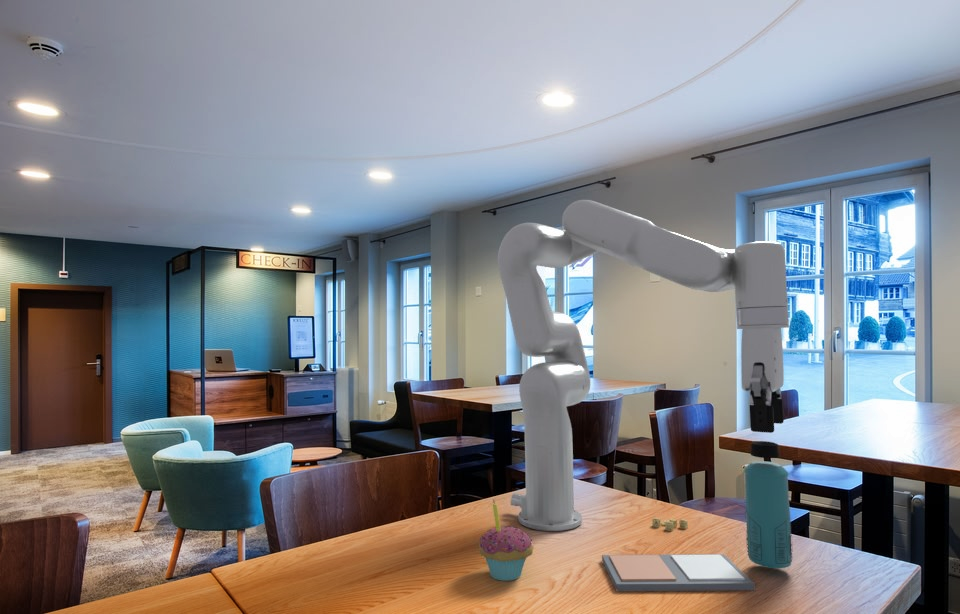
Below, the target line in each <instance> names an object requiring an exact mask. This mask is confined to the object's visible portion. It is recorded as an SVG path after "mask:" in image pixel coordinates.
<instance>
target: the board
mask: <svg viewBox="0 0 960 614" xmlns="http://www.w3.org/2000/svg"><path fill="white" fill-rule="evenodd" d="M601 560H602V561H601V562H602V564H603V565H604V568H605V570H606V572H607V574H608V577H609V578H610V580H611V582H612V583H613V586H614V588H615V590H616V592H681V591H682V592H687V591H688V592H689V591H690V592H693V591H698V592H702V591H704V592H705V591H706V592H707V591H709V592H710V591H715V592H717V591H718V592H719V591H755V589H756V587H755V582H754V581H753V580H751V578H750V577H748V576H747V575H746V574H745V573H744V572H743V571H742V570H741V569H740V568H739V567H738V566H737V565H736V564H735V563H734V562H733V561H732V560H731V559H730V558H729V557H728V556H726V555H725V553H707V554H706V553H697V554H696V553H695V554H693V553H692V554H690V553H688V554H687V553H684V554H683V553H682V554H681V553H680V554H675V553H674V554H669V553H668V554H602V555H601Z"/></svg>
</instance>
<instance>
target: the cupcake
mask: <svg viewBox="0 0 960 614" xmlns="http://www.w3.org/2000/svg"><path fill="white" fill-rule="evenodd" d="M492 502H493V503H492V508H493V509H492V511H493V516H494V524H495V528H492V529H488V530H486V532H484V534H482V536H481V537H480V538H479V541H478V552H479V555H480V556H481V557H484V559H485V562H486V563H487V567H488V569H489V573H490V576H491V578H493V579H494V580H497V581H502V582H505V581H506V582H508V581H509V582H510V581H515V580H517V579H519V578H520V577H521V576H522V572H523V568H524V565H525V563H526V559H527V558H528V557H530V556H532V555H533V552H534V551H533V550H534V546H533V540H532V539H531V537H530V536H529V535H528V534H527V533H526V532H525V531H523V530H522V529H520V528H518V527H516V526H514V527H513V526H509V525H508V526H501V524H500V516H499V510H498V505H497V503H496V502H495V499H494V498H492Z"/></svg>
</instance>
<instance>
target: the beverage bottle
mask: <svg viewBox="0 0 960 614" xmlns="http://www.w3.org/2000/svg"><path fill="white" fill-rule="evenodd" d="M750 456H752V457H755V458H762V459H778V458H780V451H779V444H778V443H776V442H772V441H764V440H759V441H758V440H755V441H752V442H751V444H750ZM743 472H744V484H745V486H744V487H745V523H746V524H745V525H746V530H745V532H746V536H745V541H746V542H745V543H746V551H747V552H746V553H747V556H748V559H749V560H750V562H752V563H754V564H756V565H758V566H762V567H765V568H771V569H785V568H789V567H791V565H792V562H793V559H794V557H793V551H794V550H793V549H792V537H793V534H792V523H791V522H792V515H791V510H790V509H791V507H790V499H789V497H790V495H789V494H790V493H789V480H788V479H789V473H788V471H787V470H786V469H785V468H784V467H783V466H782V465H781V464H779V463H776V462H772V461H760V460H758V461H757V460H756V461H751V463H749V464H748V465H746V467H745V468H744V471H743Z"/></svg>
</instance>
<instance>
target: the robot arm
mask: <svg viewBox="0 0 960 614" xmlns="http://www.w3.org/2000/svg"><path fill="white" fill-rule="evenodd" d="M561 224H562V225H561V226H562V227H559V228H557V227H553V226H549V225H546V224H542V223H536V222H524V223H520V224H517V225H515V226H513V227H512V228H511V229H509V231H508V232H506V234H505V235H504V237H503V239H502V241H501V243H500V245H499V249H498V253H497V267H498V272H499V276H500V277H499V278H500V280H501V284H502V286H503V290H504V294H505V298H506V302H507V303H506V304H507V308H508V313H509V316H510V322H511V327H512V331H513V336H514V340H515V343H516V345H517V348H518V350H519V351H520V352H521V353H522V354H523V355H524V356H526V357H534V358H537V357H538V358H541V357H544V361H545V362H538V363H536V364H533V365H532V366H530V367H528V368H527V369H526V370H525V371H524V373H523V374H522V376H521V378H520V380H519V385H518V386H519V387H518V389H519V399H520V404H521V408H522V415H523V425H524V453H525V455H524V459H525V460H524V462H525V463H524V465H525V467H524V468H525V469H524V470H525V495H523V494H521V493H517V492H516V493H515V492H514V493H512V495H511V499H510V505H511V506H514V507H520V509H521V511H520V512H518V522H519V523H520V524H521V525H522V526H524V527H526V528H528V529H532V530H537V531H544V532H545V531H546V532H561V531H567V530H572V529H575V528H578V527H579V526H580V525H581V524H582V522H583V516H582V514H581V513H580V512H579V511H577V510H576V509H575V506H574V505H575V504H574V502H575V501H574V500H575V498H574V497H575V496H574V495H575V494H574V454H573V453H574V452H573V450H574V449H573V446H574V445H573V428H572V423H571V419H570V416H569V411H568V408H567V407H571V406H575V405H577V404H580V403H581V402H582V401H583V402H584V400H585V399H586V398H587V396H588V394H589V392H590V390H591V375H590V369H589V366H588V362H587V358H586V354H585V349H584V346H583V342H582V338H581V334H580V330H579V328H578V326H577V324H576V322H575V321H574V319H573V318H571V317H570V316H569V315H567V314H565V313H564V312H561V311H560V312H559V311H553V310H552V307H551V304H550V301H549V298H548V291H547V288H546V285H545V282H544V280H543V279H542V277H541V275H540V274H539V272H538V269H537V268H538V267H545V268H552V269H558V268H559V269H560V268H564V267H567V266H570V265H572V264H574V263H577V262H579V261H581V260H584V259H586V258H588V257H591V256H593V255H594V254H597V253H599V252H600V253H603V254H605V255H609V256H610V257H613V258H615V259H617V260H620V261H622V262H624V263H627V264H629V265H631V266H634V267H637V268H639V269H643V270H644V271H646V272H649V273H651V274H653V275H655V276H658V277H660V278H663V279H666V280H667V281H671V282H673V283H675V284H678V285H679V286H682V287H685V288H687V289H692V290H695V291H703V292H709V293H719V292H724V291H729V290H734V298H735V299H734V300H735V313H736V316H735V318H736V329H737V330H742V331H741V343H740V345H741V352H740V353H741V354H740V357H741V358H740V360H741V361H740V362H741V363H740V366H741V369H740V370H741V372H740V373H741V374H740V375H741V389H742V390H743V391H744V392H749V391H750V392H749V395H750V396H749V419H750V420H749V421H750V422H749V424H750V425H749V426H750V430H751V432H752V433H753V432H754V433H755V432H756V433H766V434H767V433H769V434H772V433H774V432H775V424H777V425H778V424H779V425H780V424H783V423H784V421H785V420H784V418H785V417H784V403H783V398H782V389H781V388H782V387H783V386H784V380H785V379H784V375H785V374H784V373H785V372H784V353H783V352H784V350H783V338H782V337H783V336H782V335H783V333H782V329H784V328H785V329H787V328H790V324H789V323H790V322H789V321H790V320H789V306H788V305H789V301H788V300H789V299H788V289H787V284H788V283H787V267H786V253H785V247H784V246H783V244H782V243H780V242H777V241H771V240H769V241H767V240H766V241H765V240H764V241H762V240H761V241H754V242H752V241H751V242H746V243H742V244H739V245H738V246H736V247H735V248H733V249H731V248H730V249H728V248H727V249H725V248H720V247H717V246H714V245H711V244H709V243H706V242H705V243H704V242H701V241H700V240H696V239H693V238H690V237H688V236H684V235H682V234H679V233H676V232H673V231H670V230H668V229H665V228H662V227H659V225H655V224H654V223H653V222H652V221H651V220H648V219H646V218H644V217H640V216H638V215H636V214H635V215H634V214H632V213H629V212H625V211H623V210H620V209H617V208H614V207H612V206H610V205H606V204H603V203H601V202H597V201H594V200H592V199H579V200H575V201H574V202H571V203H570V204H569V205H568V206H567V207H566V208H565V210H564V212H563V213H562V217H561ZM537 266H538V267H537Z"/></svg>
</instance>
